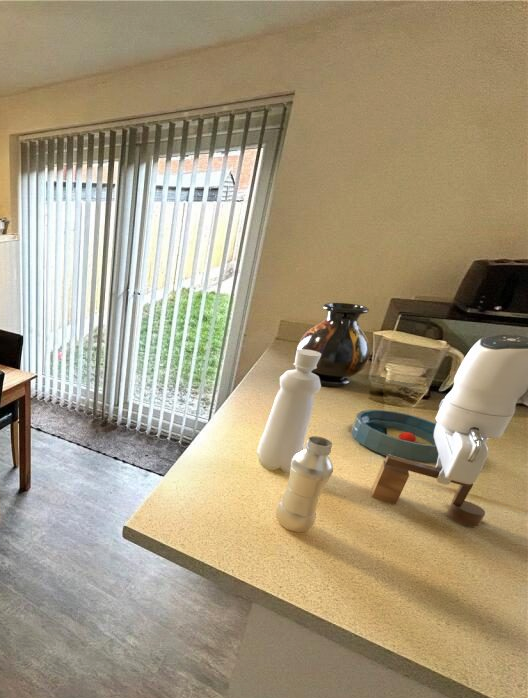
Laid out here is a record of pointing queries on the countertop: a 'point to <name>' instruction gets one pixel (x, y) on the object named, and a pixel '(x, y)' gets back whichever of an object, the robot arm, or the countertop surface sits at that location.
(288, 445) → the bottle
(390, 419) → the blue ring
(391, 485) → the wooden toy brick
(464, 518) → the bent rod on disc
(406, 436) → the tomato
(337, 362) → the black vase
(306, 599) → the countertop surface
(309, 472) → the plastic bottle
